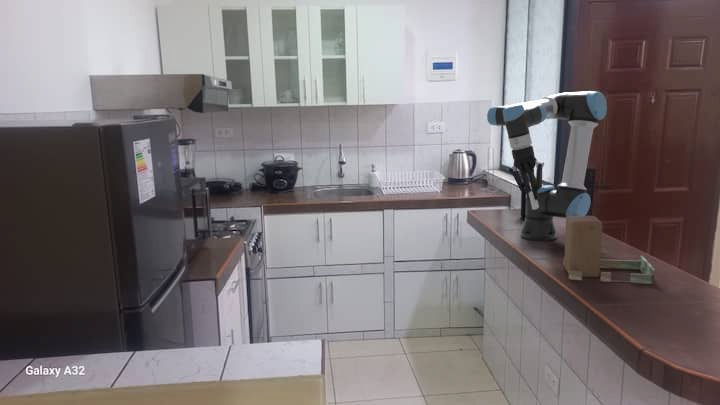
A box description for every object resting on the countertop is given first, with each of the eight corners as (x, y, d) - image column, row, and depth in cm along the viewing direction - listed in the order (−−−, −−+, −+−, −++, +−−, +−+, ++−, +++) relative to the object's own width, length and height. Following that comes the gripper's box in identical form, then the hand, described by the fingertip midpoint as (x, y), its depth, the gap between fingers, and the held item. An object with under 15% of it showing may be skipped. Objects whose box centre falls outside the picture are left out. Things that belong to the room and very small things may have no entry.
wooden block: (600, 278, 167) (603, 222, 163) (569, 277, 170) (571, 221, 166) (592, 268, 177) (595, 215, 173) (563, 267, 179) (565, 215, 175)
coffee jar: (545, 220, 248) (546, 185, 245) (524, 221, 249) (525, 186, 245) (538, 215, 259) (539, 182, 255) (517, 216, 259) (518, 183, 255)
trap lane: (563, 265, 182) (564, 252, 181) (641, 268, 175) (642, 255, 174) (568, 279, 168) (569, 265, 167) (653, 283, 160) (654, 269, 160)
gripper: (500, 152, 180) (515, 212, 183) (534, 146, 171) (549, 209, 174) (509, 148, 185) (523, 206, 188) (542, 141, 176) (556, 203, 179)
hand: (535, 208), depth 181 cm, fingers closed
